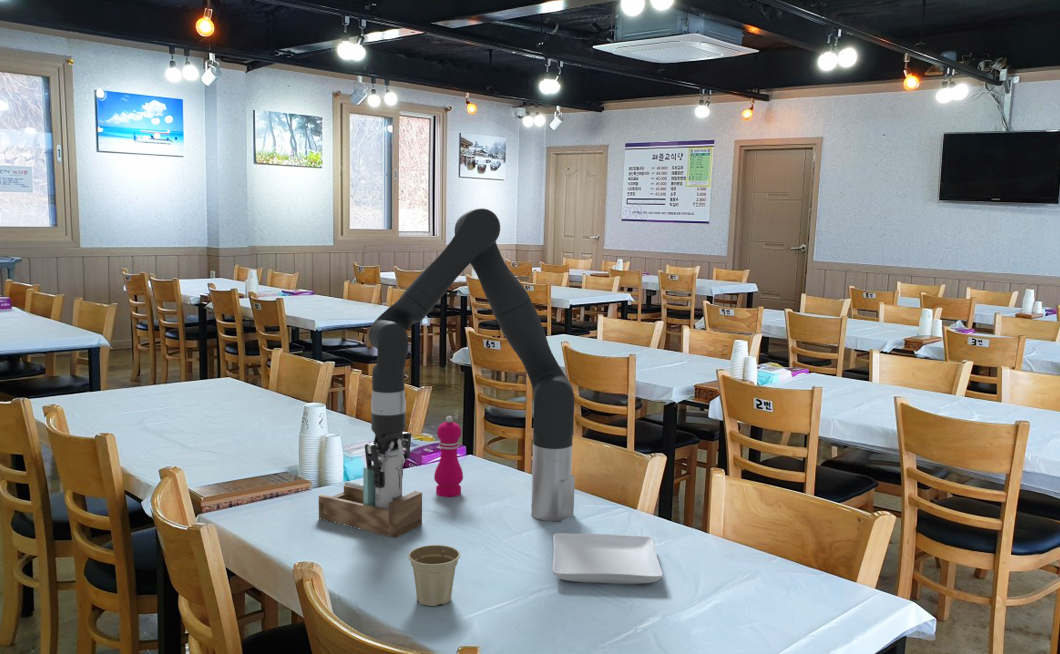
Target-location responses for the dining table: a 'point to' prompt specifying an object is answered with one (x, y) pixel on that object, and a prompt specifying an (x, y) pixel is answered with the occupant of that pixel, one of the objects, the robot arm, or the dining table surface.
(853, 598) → the dining table surface
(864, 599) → the dining table surface
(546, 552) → the dining table surface
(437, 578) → the flower pot
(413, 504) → the wooden box
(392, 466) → the energy drink can
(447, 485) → the pepper mill
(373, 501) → the pusher
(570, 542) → the salad plate
